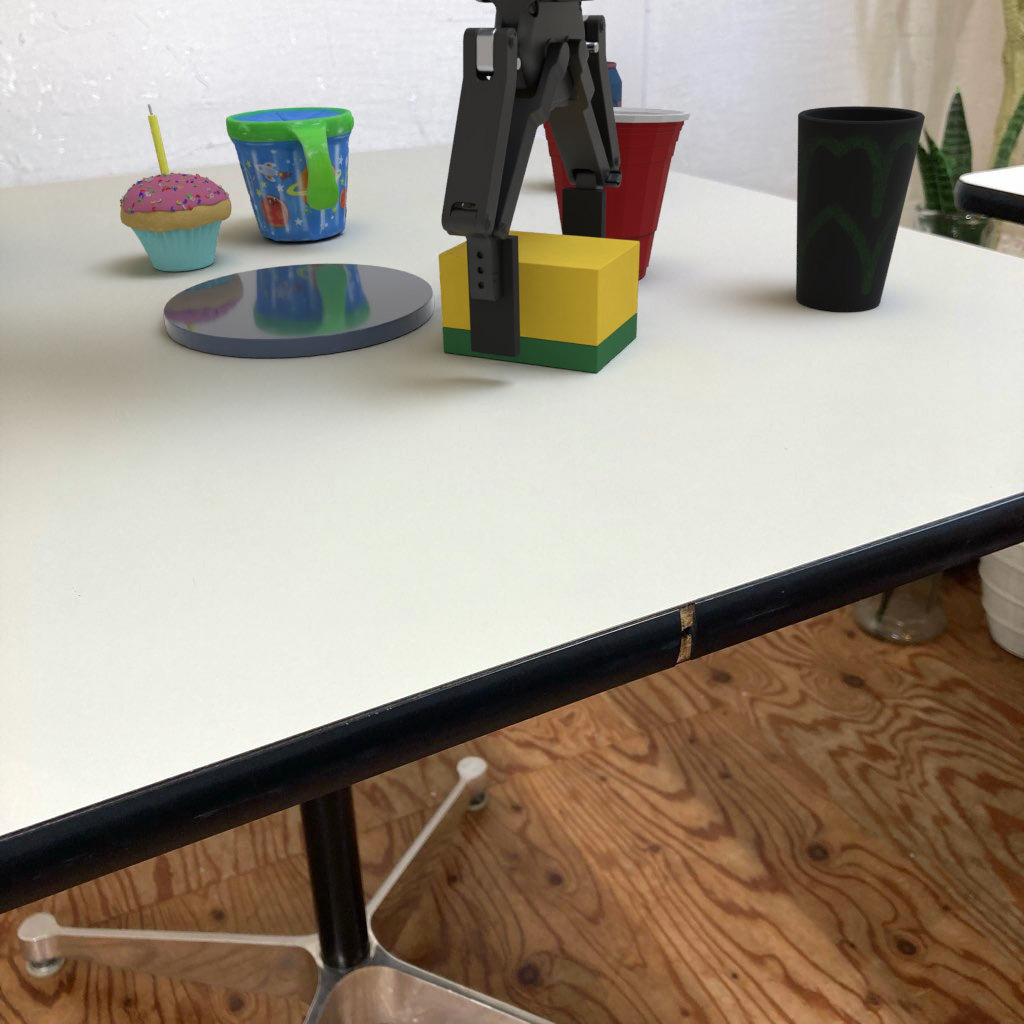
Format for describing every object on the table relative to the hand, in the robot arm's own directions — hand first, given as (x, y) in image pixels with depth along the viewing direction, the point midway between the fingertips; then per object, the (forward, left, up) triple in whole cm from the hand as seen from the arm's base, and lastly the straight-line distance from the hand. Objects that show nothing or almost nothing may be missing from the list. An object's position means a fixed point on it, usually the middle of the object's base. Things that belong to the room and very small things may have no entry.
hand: (543, 319), depth 64 cm
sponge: (0, 0, -2) cm, 2 cm away
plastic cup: (-2, +17, -2) cm, 17 cm away
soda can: (-16, +48, -2) cm, 51 cm away
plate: (-18, 0, -2) cm, 18 cm away
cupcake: (-35, +8, -2) cm, 36 cm away
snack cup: (-32, +20, -2) cm, 38 cm away
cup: (+15, +16, -2) cm, 22 cm away
